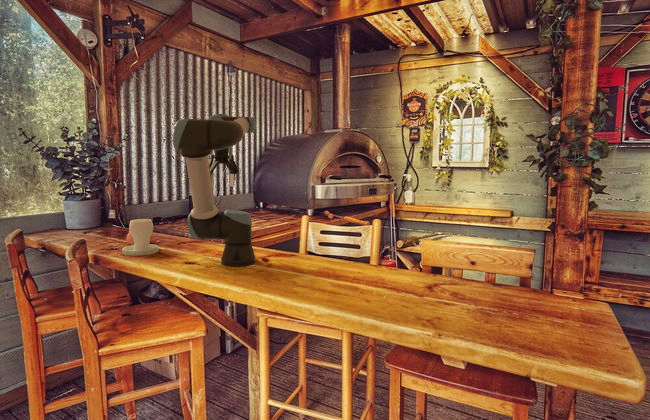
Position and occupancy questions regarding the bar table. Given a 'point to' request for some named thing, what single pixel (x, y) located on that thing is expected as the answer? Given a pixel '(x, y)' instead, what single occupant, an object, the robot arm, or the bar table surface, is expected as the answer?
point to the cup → (141, 233)
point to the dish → (130, 251)
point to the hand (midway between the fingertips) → (222, 187)
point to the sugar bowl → (131, 240)
